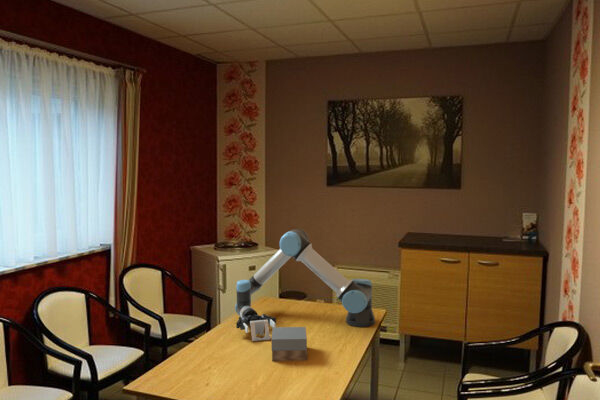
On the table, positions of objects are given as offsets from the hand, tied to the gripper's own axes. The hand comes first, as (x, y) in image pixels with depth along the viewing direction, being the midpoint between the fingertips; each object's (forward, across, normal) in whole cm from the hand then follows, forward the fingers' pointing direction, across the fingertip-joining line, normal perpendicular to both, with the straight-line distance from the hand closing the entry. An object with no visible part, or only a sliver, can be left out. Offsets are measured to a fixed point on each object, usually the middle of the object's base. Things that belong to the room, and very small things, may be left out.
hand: (261, 328), depth 232 cm
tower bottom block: (+20, -6, -6) cm, 22 cm away
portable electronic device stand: (-3, 0, -6) cm, 7 cm away
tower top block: (+20, -6, -2) cm, 21 cm away
